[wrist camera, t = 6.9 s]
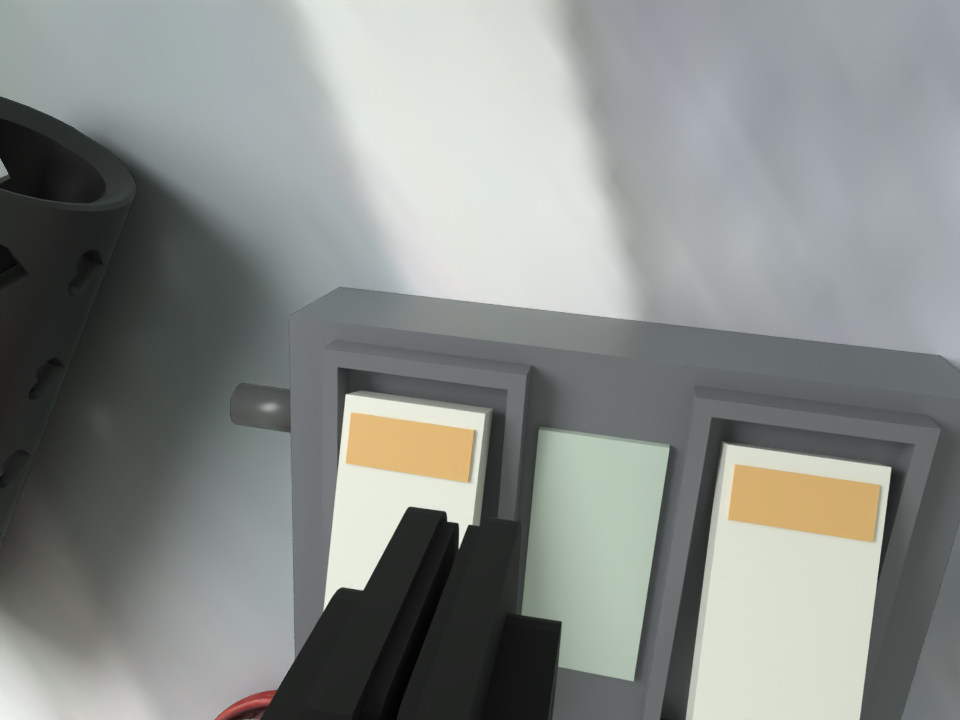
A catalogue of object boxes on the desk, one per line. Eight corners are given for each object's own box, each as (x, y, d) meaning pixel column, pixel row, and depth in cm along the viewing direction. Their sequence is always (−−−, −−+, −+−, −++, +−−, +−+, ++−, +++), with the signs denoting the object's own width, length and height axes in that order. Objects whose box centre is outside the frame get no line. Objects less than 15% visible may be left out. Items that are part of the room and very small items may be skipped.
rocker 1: (361, 390, 29) (344, 394, 27) (493, 408, 28) (484, 414, 26) (328, 701, 30) (310, 724, 28) (455, 728, 29) (445, 753, 27)
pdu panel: (264, 278, 34) (185, 313, 28) (940, 355, 29) (1010, 416, 24) (272, 587, 39) (207, 670, 34) (849, 697, 34) (888, 816, 29)
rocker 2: (720, 440, 27) (728, 444, 25) (875, 462, 26) (892, 467, 24) (677, 784, 27) (681, 812, 25) (829, 817, 26) (844, 848, 24)
